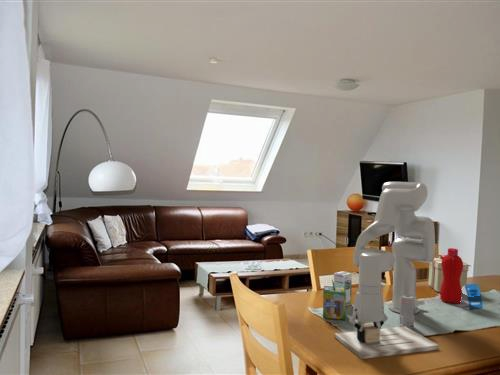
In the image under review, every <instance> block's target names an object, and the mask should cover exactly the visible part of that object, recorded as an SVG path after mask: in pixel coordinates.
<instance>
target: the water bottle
mask: <svg viewBox="0 0 500 375" xmlns="http://www.w3.org/2000/svg"><path fill="white" fill-rule="evenodd" d="M458 253H459V249H458V248H454V247H451V248H447V254H445V255H446V256H444V257H443V259H442V263H441V265H442V271H443V282H442V286H441V290H440V292H439V294H440V295H439V298H440V300H441V301H442V302H444V303H451V304H461V303H460V301H461V297H462V298H463V294H462V290H461V285H460V277H461V274H462V270H463V260H462V257H461V256H459V254H458ZM461 302H462V301H461Z"/></svg>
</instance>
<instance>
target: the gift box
mask: <svg viewBox="0 0 500 375" xmlns="http://www.w3.org/2000/svg"><path fill="white" fill-rule="evenodd" d="M446 255H447V254H439V255H438V257H435V258H434V260H433V261H432V262H430V263H428V264H429V268H428V282H427V283H428V286H429V287H430V288H432V289H433V290H434V291H436V292H437V293H440V290H441V286H442V282H443V271H442V265H441V263H442V259H443V257H444V256H446ZM469 267H471V264H468V263H467V262H463V270H462V274H461V277H460V285H461V289H462V287H463V286H464V285H466V284H467V283H468V272H469Z"/></svg>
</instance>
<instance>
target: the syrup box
mask: <svg viewBox="0 0 500 375" xmlns="http://www.w3.org/2000/svg"><path fill="white" fill-rule="evenodd" d="M352 279H353V278H352V273H351V272H349V271H342V270H341V271H338V272H334V273H333V282H334V286H337V287H345V290H346V307H347V306H350V305H351V306H352Z"/></svg>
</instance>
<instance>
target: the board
mask: <svg viewBox="0 0 500 375" xmlns="http://www.w3.org/2000/svg"><path fill="white" fill-rule="evenodd" d="M334 339H336V340H337V341H338V342H340V343H341V344H342V345H343V346H344V347H346V348H347V349H348V350H349V351H350V352H352V353H353V354H355V355H356V356H357V357H358V358H359V359H361V360H365V359H371V358H372V359H373V358H379V357H389V356H396V355H397V356H398V355H404V354H412V353H420V352H429V351H435V350H439V348H440V345H439V344H438V343H436V342H434V341H432V340H430V339H429V338H427V337H425V336H423V335H421V334H420V333H418V332H416V331H414V330H413V329H409V328H407V327H405V326H404V327H400V326H393V327H387V328H386V327H385V328H381V329H380V343H379V344H378V345H369V346H368V345H366V344H365V343H361V342H360V341H359V340H358V339H357V330H356V331H347V332H346V331H345V332H336V333H334Z"/></svg>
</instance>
